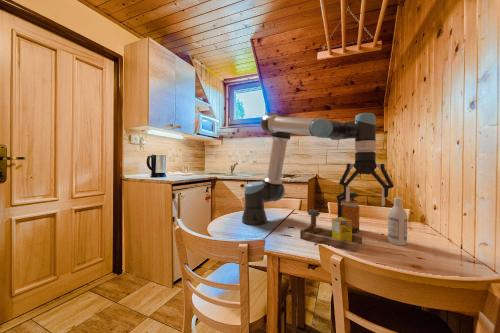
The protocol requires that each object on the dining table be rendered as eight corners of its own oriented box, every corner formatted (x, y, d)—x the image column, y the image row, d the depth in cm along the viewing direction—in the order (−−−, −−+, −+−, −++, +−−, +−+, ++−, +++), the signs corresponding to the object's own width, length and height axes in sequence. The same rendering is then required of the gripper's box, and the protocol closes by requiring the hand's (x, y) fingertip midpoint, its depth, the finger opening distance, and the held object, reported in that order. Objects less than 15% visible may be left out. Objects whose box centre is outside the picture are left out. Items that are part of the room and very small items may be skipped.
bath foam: (402, 240, 98) (403, 197, 97) (410, 246, 91) (411, 199, 91) (385, 239, 100) (386, 196, 99) (391, 245, 93) (392, 199, 92)
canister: (361, 233, 107) (362, 193, 106) (338, 232, 109) (338, 193, 109) (356, 228, 116) (356, 191, 115) (334, 227, 118) (335, 190, 117)
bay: (295, 237, 103) (295, 213, 103) (308, 229, 115) (309, 208, 114) (355, 252, 86) (355, 224, 86) (363, 240, 98) (364, 216, 97)
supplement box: (352, 245, 93) (352, 220, 93) (340, 246, 92) (340, 221, 91) (343, 240, 99) (343, 216, 98) (331, 241, 97) (331, 217, 97)
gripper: (331, 152, 93) (331, 201, 94) (400, 150, 78) (399, 208, 78) (337, 152, 99) (337, 198, 100) (402, 150, 84) (401, 205, 84)
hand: (364, 203), depth 89 cm, fingers open, 12 cm apart
